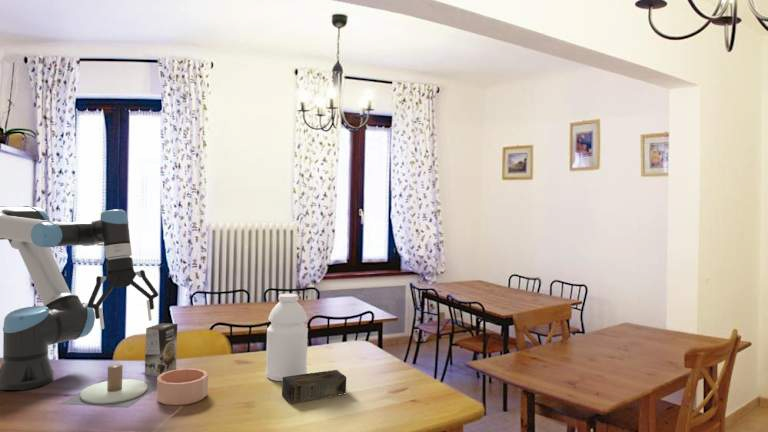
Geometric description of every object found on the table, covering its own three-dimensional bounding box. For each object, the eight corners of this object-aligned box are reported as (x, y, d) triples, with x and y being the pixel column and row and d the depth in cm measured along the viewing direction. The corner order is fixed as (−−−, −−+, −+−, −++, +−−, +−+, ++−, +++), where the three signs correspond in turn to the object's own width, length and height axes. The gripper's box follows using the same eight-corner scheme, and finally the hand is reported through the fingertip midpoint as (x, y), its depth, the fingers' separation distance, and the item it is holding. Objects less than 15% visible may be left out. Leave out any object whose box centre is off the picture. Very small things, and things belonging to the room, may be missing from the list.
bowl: (147, 405, 148) (148, 382, 147) (170, 387, 162) (170, 367, 162) (195, 407, 147) (195, 385, 147) (213, 390, 161) (214, 369, 161)
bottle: (259, 380, 171) (261, 297, 171) (274, 367, 185) (276, 290, 184) (299, 383, 169) (301, 299, 169) (311, 370, 183) (314, 292, 182)
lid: (66, 402, 147) (66, 374, 147) (103, 381, 165) (104, 356, 165) (127, 405, 146) (127, 377, 146) (158, 383, 164) (158, 358, 164)
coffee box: (160, 377, 171) (162, 329, 171) (143, 375, 172) (145, 327, 172) (177, 369, 180) (178, 323, 180) (160, 367, 181) (162, 322, 181)
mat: (60, 404, 146) (60, 403, 146) (102, 381, 166) (102, 379, 166) (128, 408, 145) (128, 407, 145) (162, 384, 165) (162, 382, 165)
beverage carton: (347, 395, 161) (347, 374, 161) (289, 406, 151) (289, 383, 151) (336, 387, 168) (336, 367, 168) (280, 396, 158) (280, 375, 158)
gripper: (72, 263, 155) (80, 333, 153) (161, 252, 165) (169, 317, 164) (75, 264, 162) (83, 331, 160) (161, 253, 172) (169, 316, 171)
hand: (126, 324), depth 162 cm, fingers open, 13 cm apart
